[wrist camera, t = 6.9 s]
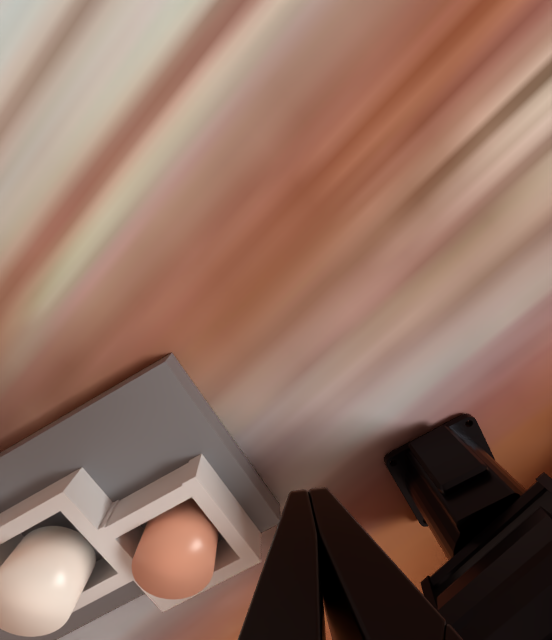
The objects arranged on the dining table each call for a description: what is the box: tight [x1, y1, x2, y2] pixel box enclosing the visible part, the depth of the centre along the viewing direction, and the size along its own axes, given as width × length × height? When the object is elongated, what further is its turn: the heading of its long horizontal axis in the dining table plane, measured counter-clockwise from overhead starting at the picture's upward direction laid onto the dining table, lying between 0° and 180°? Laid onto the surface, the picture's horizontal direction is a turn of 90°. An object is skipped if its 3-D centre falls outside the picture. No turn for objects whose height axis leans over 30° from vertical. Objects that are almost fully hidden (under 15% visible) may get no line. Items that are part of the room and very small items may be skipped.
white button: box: [0, 526, 96, 637], centre depth 18 cm, size 4×4×3 cm
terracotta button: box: [132, 498, 219, 599], centre depth 19 cm, size 4×4×3 cm
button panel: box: [0, 353, 281, 640], centre depth 21 cm, size 13×22×4 cm, turn 120°
